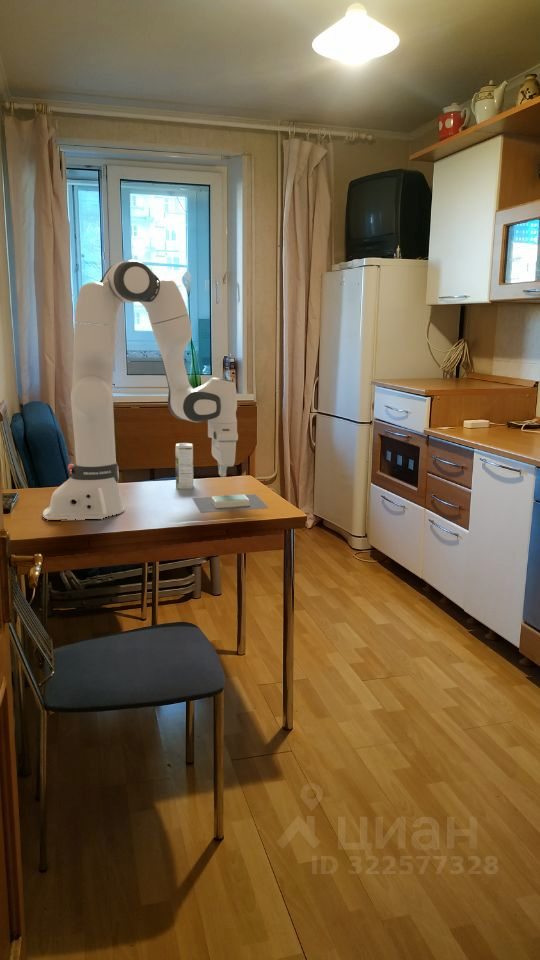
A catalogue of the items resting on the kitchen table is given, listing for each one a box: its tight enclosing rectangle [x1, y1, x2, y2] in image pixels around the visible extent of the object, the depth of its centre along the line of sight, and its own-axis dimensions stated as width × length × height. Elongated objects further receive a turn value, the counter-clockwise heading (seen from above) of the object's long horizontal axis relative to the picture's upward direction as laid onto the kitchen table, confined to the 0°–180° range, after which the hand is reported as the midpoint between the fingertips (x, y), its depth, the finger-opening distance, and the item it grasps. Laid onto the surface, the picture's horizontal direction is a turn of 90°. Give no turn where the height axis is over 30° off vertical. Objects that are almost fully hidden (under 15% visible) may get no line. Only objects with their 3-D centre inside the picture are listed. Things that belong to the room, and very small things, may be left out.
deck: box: [211, 494, 249, 508], centre depth 203 cm, size 10×2×7 cm
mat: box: [192, 493, 270, 514], centre depth 205 cm, size 20×18×1 cm
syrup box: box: [174, 442, 194, 490], centre depth 227 cm, size 6×6×14 cm
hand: (222, 475), depth 211 cm, fingers closed
